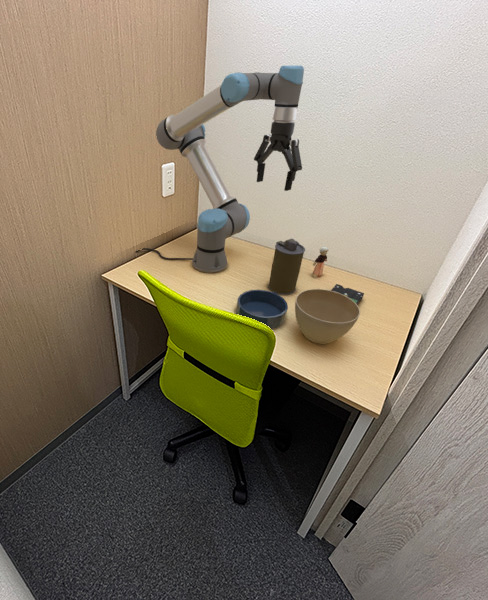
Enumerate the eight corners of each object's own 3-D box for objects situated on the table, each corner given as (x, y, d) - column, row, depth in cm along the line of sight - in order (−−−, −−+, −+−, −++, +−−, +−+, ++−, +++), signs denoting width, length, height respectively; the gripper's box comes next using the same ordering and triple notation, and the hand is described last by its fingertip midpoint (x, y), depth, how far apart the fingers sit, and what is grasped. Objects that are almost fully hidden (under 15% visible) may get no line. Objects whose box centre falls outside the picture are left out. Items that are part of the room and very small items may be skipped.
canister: (301, 290, 130) (313, 242, 118) (282, 298, 125) (293, 249, 114) (279, 278, 137) (289, 232, 126) (261, 285, 132) (269, 238, 121)
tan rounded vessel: (357, 335, 107) (369, 304, 101) (332, 364, 97) (344, 331, 90) (305, 311, 118) (313, 282, 111) (277, 335, 107) (284, 304, 101)
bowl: (229, 320, 114) (230, 308, 111) (244, 296, 126) (246, 285, 123) (278, 335, 107) (281, 323, 104) (289, 308, 119) (292, 297, 117)
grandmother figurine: (316, 279, 136) (324, 251, 129) (308, 276, 138) (315, 248, 131) (326, 273, 140) (334, 245, 133) (317, 270, 143) (325, 242, 135)
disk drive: (333, 289, 130) (320, 306, 121) (335, 283, 129) (322, 299, 119) (362, 299, 125) (350, 317, 115) (364, 292, 123) (352, 310, 114)
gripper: (322, 124, 106) (307, 192, 118) (263, 117, 123) (255, 176, 135) (307, 126, 102) (293, 195, 114) (249, 118, 119) (242, 179, 131)
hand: (273, 185), depth 125 cm, fingers open, 13 cm apart
